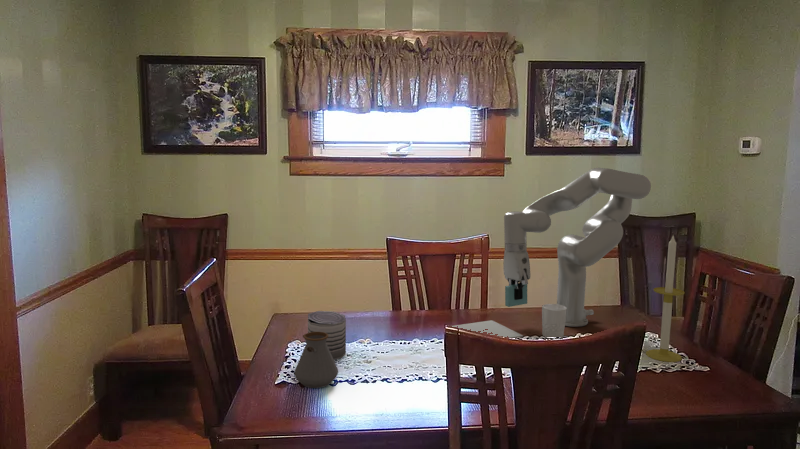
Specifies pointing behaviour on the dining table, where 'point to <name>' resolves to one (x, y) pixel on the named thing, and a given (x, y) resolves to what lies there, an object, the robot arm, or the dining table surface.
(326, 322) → the can
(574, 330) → the dining table surface
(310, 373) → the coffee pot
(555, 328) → the white cup
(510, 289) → the slab
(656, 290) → the candle
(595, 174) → the robot arm
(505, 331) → the mat
